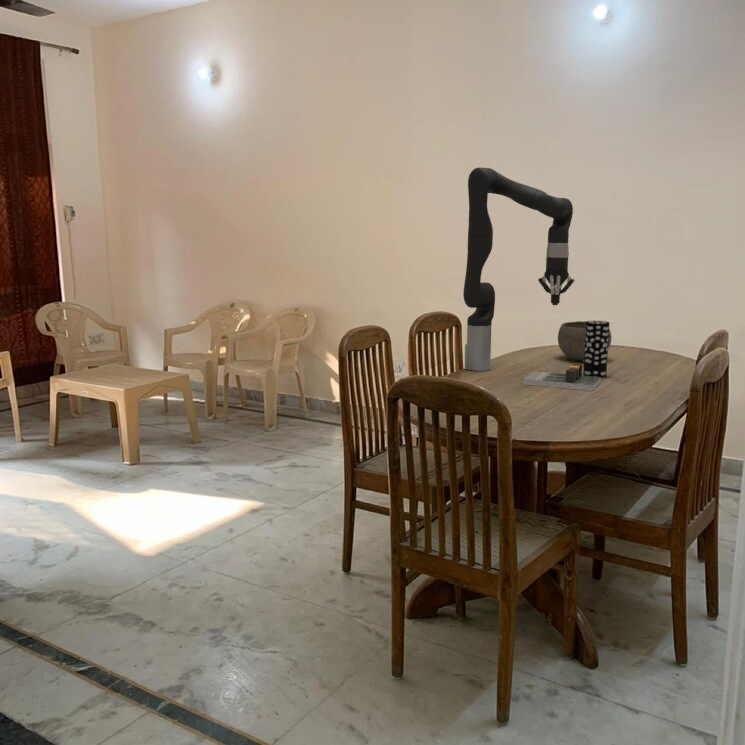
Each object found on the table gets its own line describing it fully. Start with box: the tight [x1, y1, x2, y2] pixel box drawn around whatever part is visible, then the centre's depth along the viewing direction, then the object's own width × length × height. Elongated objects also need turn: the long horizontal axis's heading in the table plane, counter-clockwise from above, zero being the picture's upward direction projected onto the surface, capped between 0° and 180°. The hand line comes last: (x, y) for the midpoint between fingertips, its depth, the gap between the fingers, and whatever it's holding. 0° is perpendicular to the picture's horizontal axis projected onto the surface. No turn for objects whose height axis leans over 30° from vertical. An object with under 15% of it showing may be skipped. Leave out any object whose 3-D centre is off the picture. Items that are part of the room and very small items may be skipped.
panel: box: [522, 363, 602, 392], centre depth 271 cm, size 24×14×6 cm, turn 64°
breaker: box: [568, 364, 580, 379], centre depth 269 cm, size 3×3×4 cm
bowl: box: [557, 320, 612, 362], centre depth 313 cm, size 21×21×15 cm
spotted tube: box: [582, 320, 610, 379], centre depth 282 cm, size 8×8×20 cm
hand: (555, 304), depth 273 cm, fingers closed
